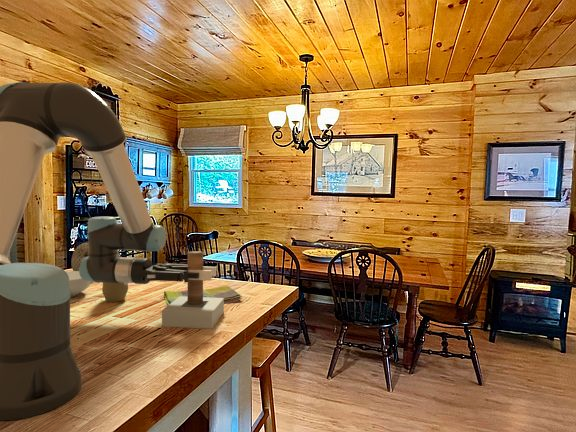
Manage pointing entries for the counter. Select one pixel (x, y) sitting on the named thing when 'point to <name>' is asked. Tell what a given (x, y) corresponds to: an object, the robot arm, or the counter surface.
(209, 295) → the dish towel
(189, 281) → the walnut dowel
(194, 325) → the socket block
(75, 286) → the cereal bowl
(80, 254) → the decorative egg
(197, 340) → the counter surface
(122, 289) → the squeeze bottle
